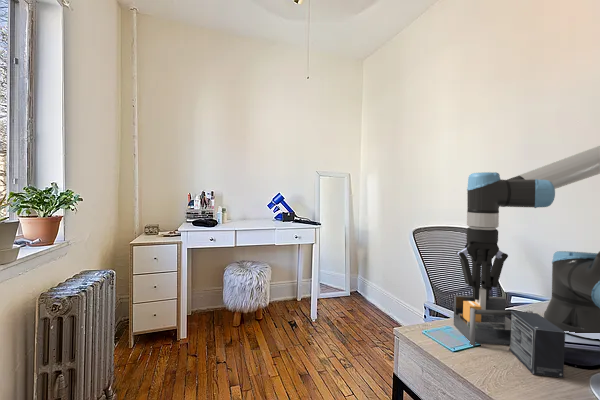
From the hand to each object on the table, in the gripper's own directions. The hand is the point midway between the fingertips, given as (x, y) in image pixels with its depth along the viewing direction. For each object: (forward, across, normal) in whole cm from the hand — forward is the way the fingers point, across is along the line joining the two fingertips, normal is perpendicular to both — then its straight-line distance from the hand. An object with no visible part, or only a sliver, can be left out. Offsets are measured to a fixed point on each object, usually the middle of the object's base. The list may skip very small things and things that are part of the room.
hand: (480, 310), depth 81 cm
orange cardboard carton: (+3, +2, 0) cm, 4 cm away
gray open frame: (+7, -2, +5) cm, 9 cm away
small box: (+8, -6, +12) cm, 16 cm away
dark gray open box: (+7, -2, 0) cm, 8 cm away
